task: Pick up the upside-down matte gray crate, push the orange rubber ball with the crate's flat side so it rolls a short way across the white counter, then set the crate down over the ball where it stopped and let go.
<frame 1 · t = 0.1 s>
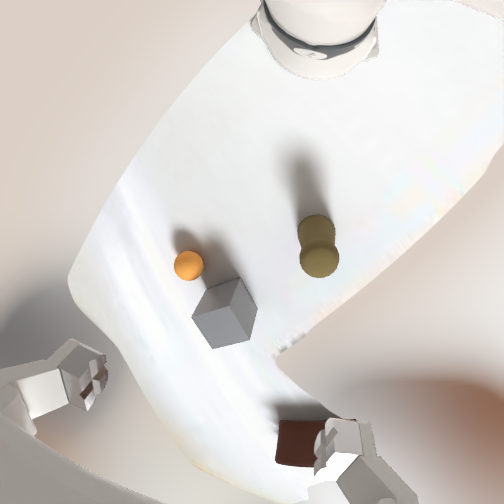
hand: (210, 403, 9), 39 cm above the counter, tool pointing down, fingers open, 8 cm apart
cork: (316, 232, 47), on the counter
letter holder: (317, 428, 68), on the counter
ball: (188, 265, 50), on the counter
matte gray crate: (232, 299, 54), on the counter
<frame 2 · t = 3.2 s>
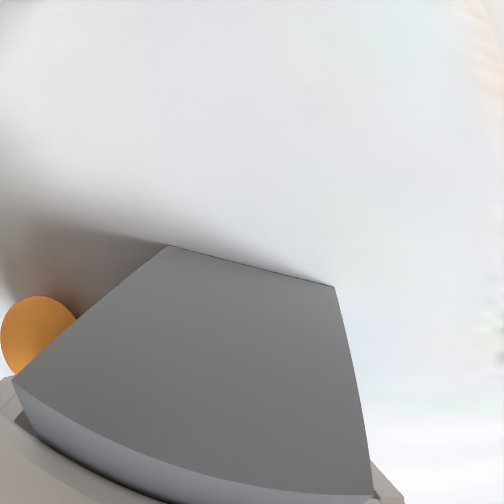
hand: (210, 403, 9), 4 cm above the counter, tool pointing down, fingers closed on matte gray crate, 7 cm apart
ball: (41, 342, 12), on the counter
matte gray crate: (233, 336, 13), on the counter, touching gripper
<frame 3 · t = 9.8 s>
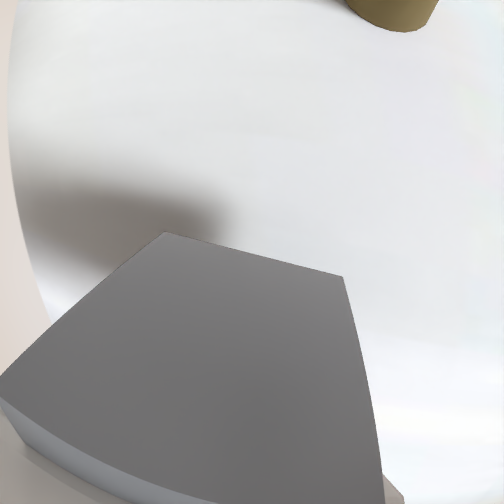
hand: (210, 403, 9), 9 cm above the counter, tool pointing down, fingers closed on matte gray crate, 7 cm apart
matte gray crate: (235, 327, 12), point 6 cm above the counter, touching gripper
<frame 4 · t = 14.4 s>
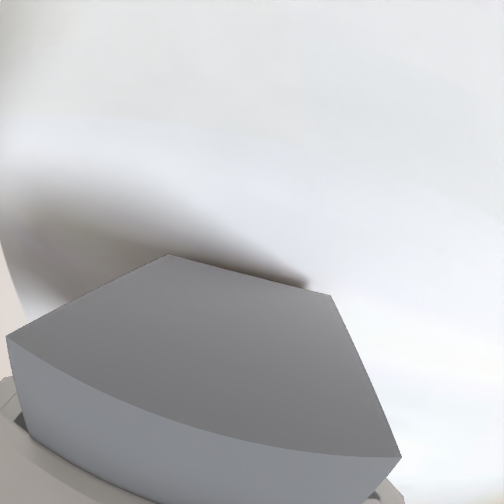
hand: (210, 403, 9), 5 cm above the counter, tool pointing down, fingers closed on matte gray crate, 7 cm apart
matte gray crate: (230, 348, 13), point 1 cm above the counter, tilted 9°, touching gripper
when the fingers open (5 cm above the counter, at t = 15.1 s): matte gray crate stays where it is, on the counter.
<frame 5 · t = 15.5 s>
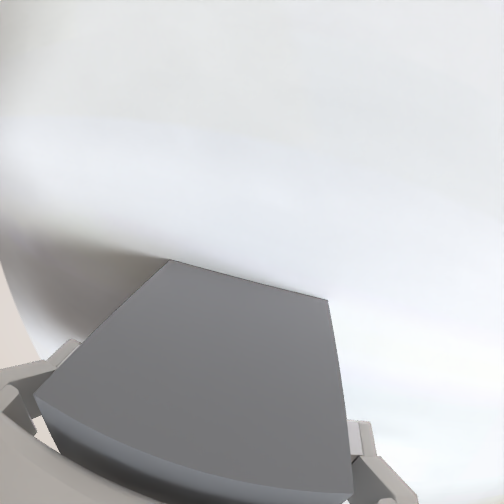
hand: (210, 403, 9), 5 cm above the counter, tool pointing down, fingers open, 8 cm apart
matte gray crate: (232, 344, 14), on the counter
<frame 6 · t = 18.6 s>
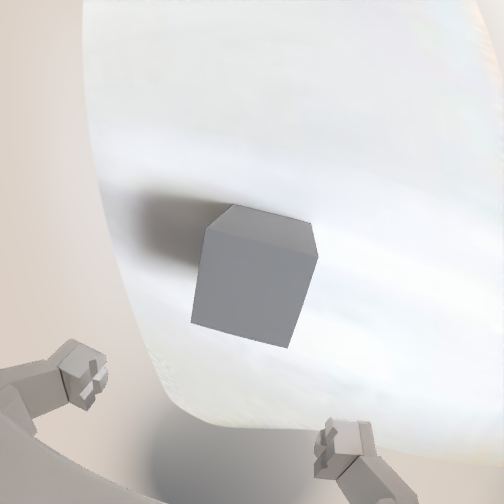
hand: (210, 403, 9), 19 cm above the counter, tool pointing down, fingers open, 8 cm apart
matte gray crate: (263, 250, 27), on the counter
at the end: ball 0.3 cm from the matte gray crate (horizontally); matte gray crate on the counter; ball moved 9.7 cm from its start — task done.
